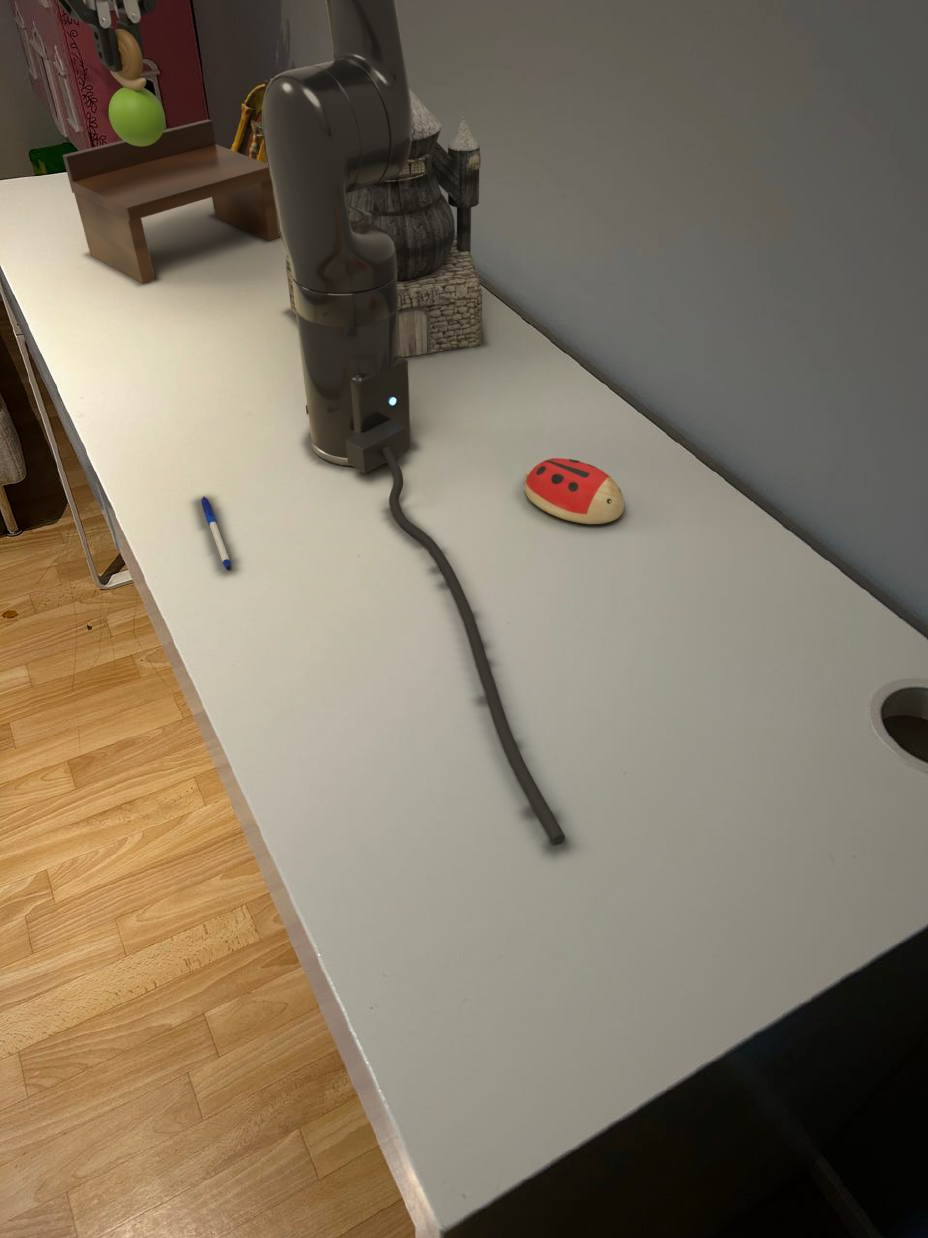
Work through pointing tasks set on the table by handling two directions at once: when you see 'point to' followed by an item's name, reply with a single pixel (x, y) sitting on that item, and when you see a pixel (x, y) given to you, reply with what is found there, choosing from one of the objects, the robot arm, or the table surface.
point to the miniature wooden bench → (164, 191)
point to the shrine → (252, 126)
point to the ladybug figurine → (574, 491)
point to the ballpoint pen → (215, 532)
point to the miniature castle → (429, 237)
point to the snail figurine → (134, 98)
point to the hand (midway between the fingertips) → (124, 67)
